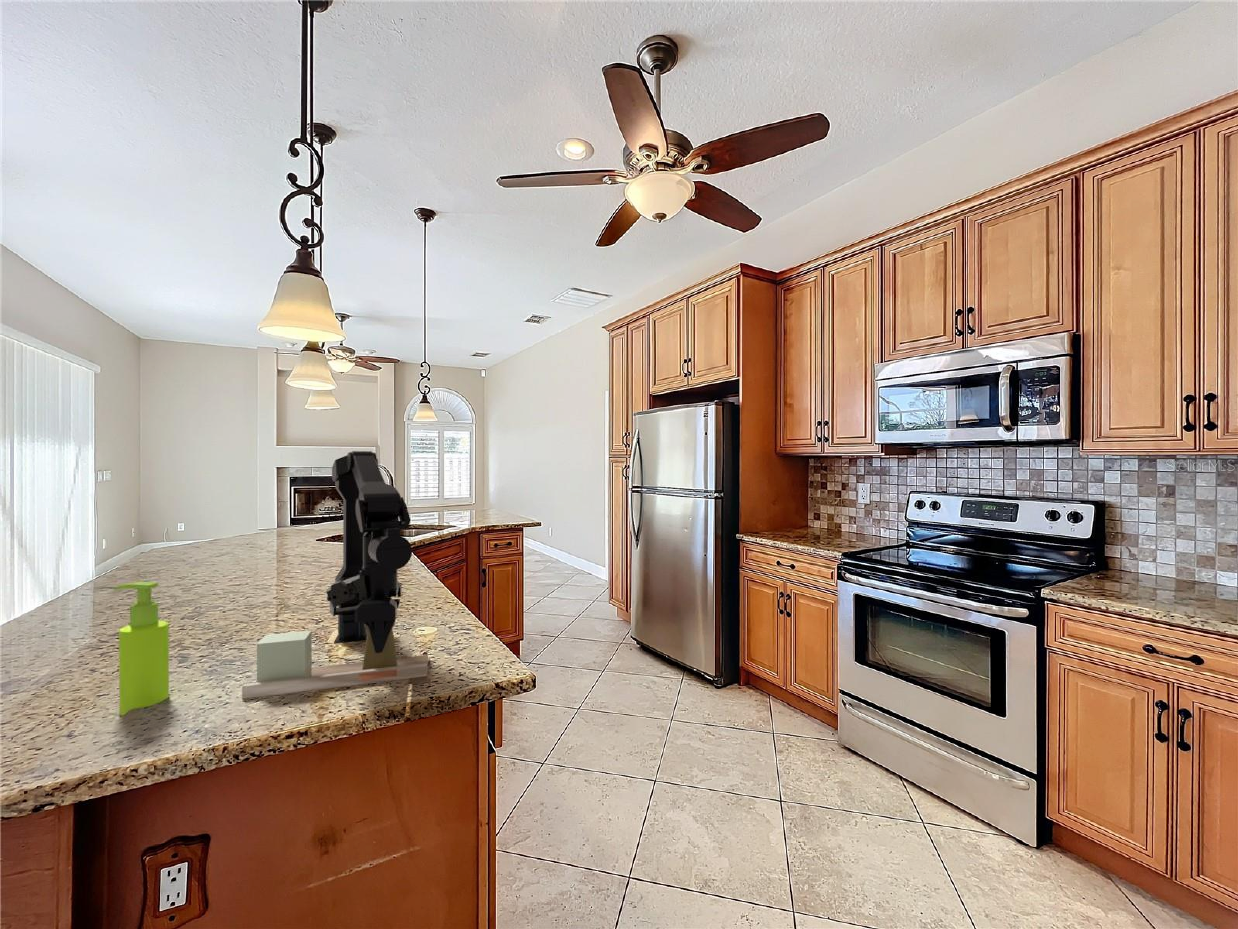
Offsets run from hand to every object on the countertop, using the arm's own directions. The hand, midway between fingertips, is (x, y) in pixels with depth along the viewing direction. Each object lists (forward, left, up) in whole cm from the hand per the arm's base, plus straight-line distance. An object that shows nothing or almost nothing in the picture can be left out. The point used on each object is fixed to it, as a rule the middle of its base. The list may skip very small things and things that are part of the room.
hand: (380, 647), depth 96 cm
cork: (0, 0, -5) cm, 5 cm away
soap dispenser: (0, -35, -6) cm, 36 cm away
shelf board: (-1, -6, -6) cm, 8 cm away
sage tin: (0, -15, -5) cm, 16 cm away
